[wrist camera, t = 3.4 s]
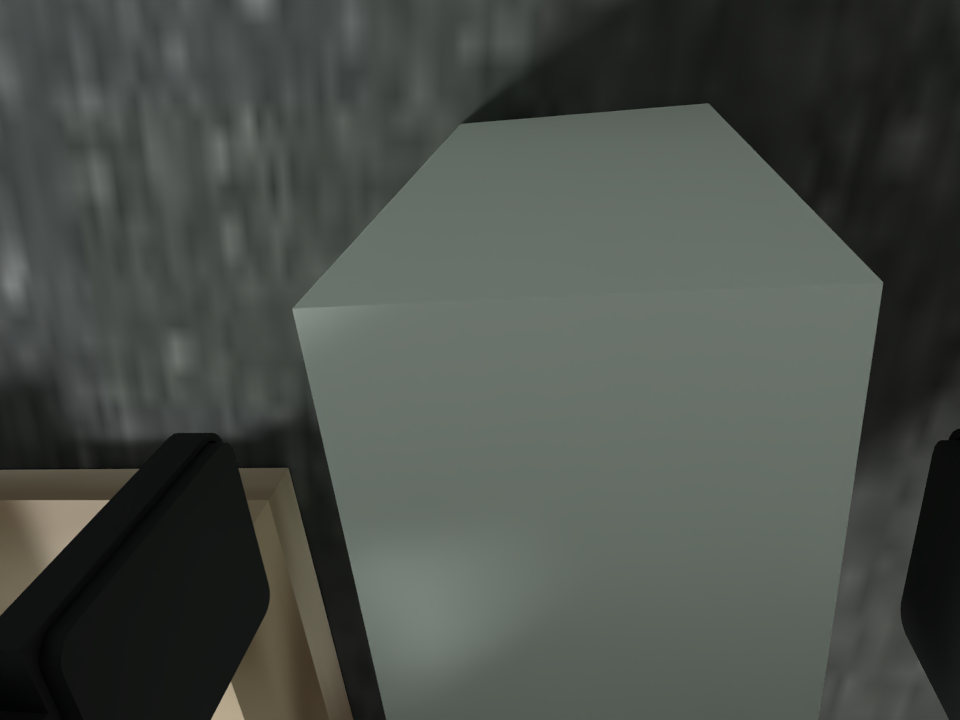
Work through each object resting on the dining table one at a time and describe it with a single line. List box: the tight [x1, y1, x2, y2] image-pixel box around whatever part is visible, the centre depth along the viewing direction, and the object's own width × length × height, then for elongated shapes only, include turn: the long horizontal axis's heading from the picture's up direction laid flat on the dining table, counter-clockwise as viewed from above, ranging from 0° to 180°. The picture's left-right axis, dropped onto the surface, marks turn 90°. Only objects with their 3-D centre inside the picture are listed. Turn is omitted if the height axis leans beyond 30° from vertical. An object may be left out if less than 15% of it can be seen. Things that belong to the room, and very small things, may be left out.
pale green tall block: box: [292, 103, 883, 720], centre depth 9 cm, size 8×4×7 cm, turn 6°
